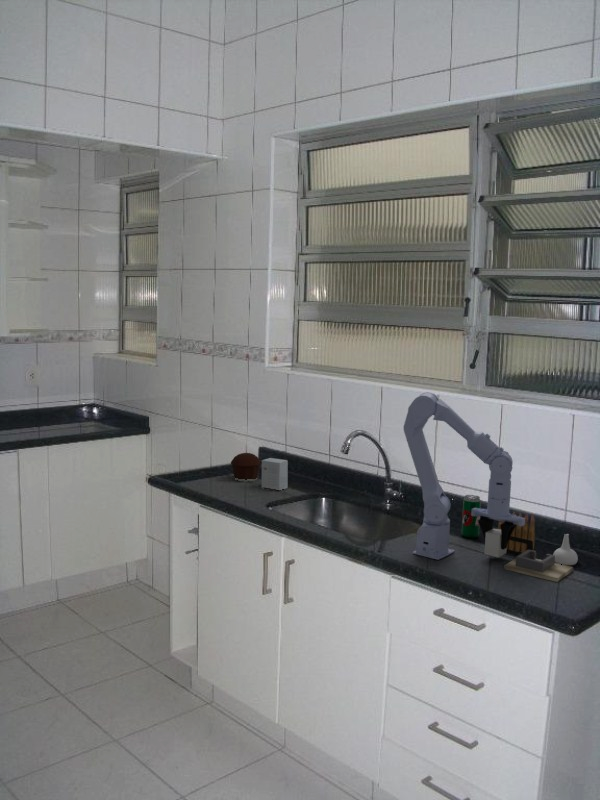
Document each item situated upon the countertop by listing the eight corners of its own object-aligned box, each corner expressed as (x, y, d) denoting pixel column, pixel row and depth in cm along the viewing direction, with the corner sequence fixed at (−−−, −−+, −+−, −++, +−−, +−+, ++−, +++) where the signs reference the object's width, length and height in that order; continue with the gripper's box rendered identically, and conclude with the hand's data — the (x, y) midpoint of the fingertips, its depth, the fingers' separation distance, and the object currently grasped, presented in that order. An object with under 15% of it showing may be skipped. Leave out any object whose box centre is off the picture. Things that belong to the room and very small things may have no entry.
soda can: (479, 539, 229) (481, 499, 227) (461, 537, 230) (463, 498, 228) (478, 534, 234) (480, 495, 232) (461, 532, 235) (463, 493, 233)
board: (557, 582, 195) (557, 578, 195) (504, 568, 203) (504, 565, 203) (572, 570, 203) (573, 567, 203) (521, 558, 212) (521, 555, 212)
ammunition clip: (495, 550, 218) (497, 509, 217) (498, 549, 220) (500, 507, 218) (532, 559, 212) (535, 516, 210) (534, 557, 213) (537, 515, 212)
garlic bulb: (572, 560, 213) (573, 531, 213) (581, 566, 207) (582, 536, 207) (549, 560, 213) (550, 531, 213) (558, 566, 207) (559, 536, 206)
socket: (542, 572, 198) (542, 563, 198) (515, 566, 203) (515, 556, 202) (554, 564, 205) (555, 555, 204) (528, 558, 209) (528, 549, 209)
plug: (498, 557, 207) (499, 535, 207) (484, 554, 210) (485, 532, 209) (507, 552, 212) (508, 531, 211) (493, 549, 214) (494, 528, 213)
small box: (287, 488, 285) (288, 460, 283) (279, 491, 280) (279, 462, 279) (269, 485, 289) (270, 457, 287) (260, 488, 284) (261, 459, 283)
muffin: (249, 474, 305) (250, 449, 304) (266, 480, 297) (267, 454, 295) (224, 478, 298) (224, 452, 296) (241, 484, 289) (241, 457, 288)
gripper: (531, 499, 207) (527, 549, 209) (480, 490, 216) (477, 537, 218) (520, 504, 202) (516, 555, 203) (468, 494, 211) (466, 543, 212)
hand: (495, 546), depth 210 cm, fingers closed on plug, 4 cm apart
